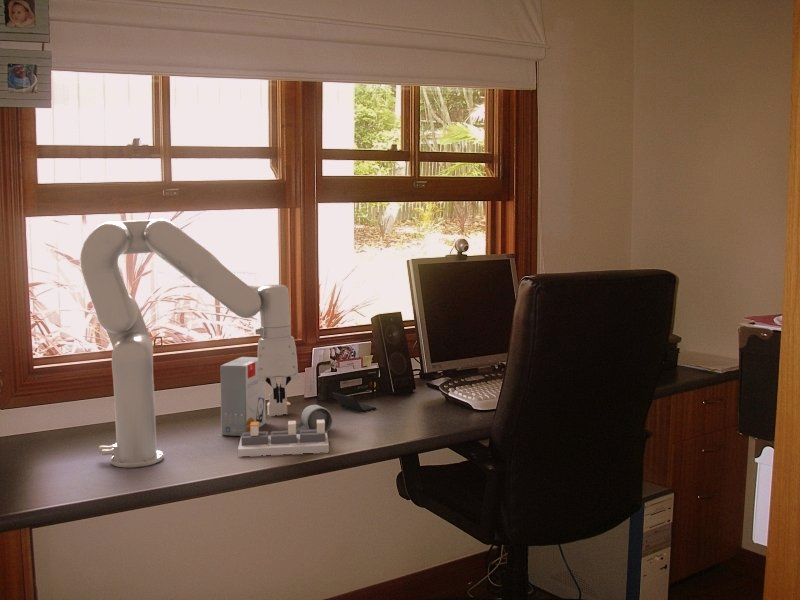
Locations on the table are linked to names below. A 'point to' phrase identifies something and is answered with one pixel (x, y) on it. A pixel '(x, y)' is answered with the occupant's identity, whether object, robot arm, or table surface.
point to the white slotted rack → (285, 441)
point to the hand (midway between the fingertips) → (279, 401)
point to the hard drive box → (241, 396)
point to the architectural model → (277, 406)
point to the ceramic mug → (314, 418)
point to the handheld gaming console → (352, 403)
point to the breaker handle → (254, 428)
